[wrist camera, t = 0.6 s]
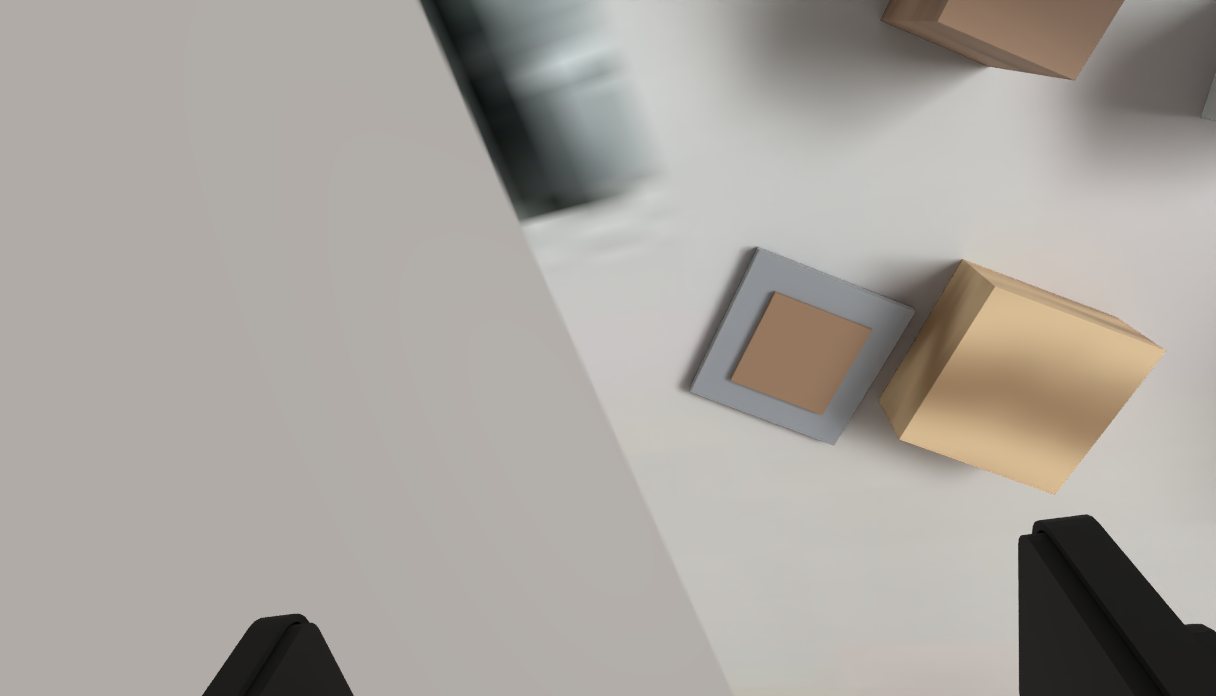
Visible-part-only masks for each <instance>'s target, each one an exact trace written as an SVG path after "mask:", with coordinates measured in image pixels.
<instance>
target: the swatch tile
mask: <svg viewBox="0 0 1216 696" xmlns="http://www.w3.org/2000/svg"><path fill="white" fill-rule="evenodd" d="M914 314H915V311H914V309H913V308H912V307H910V306H907V305H905V304H902V303H900V302H897V301H894V300H892V299H889V298H887V297H884V296H882V295H879V294H877V293H874V292H872V291H869V290H866V289H864V288H861V287H859V286H856V285H854V284H851V283H849V282H846V281H844V280H841V279H838V278H836V277H833V276H831V275H828V274H826V273H823V272H821V271H818V270H815V269H813V268H810V267H808V266H805V265H803V264H800V263H798V262H795V261H793V260H790V259H787V258H785V257H782V256H780V255H777V254H775V253H772V252H770V251H767V250H765V249H762V248H759V247H757V249H756V252H755V254H754V256H753V258H752V260H751V262H750V264H749V266H748V268H747V270H746V272H745V274H744V276H743V278H742V280H741V282H740V285H739V287H738V289H737V291H736V293H735V295H734V297H733V299H732V301H731V303H730V305H729V307H728V309H727V311H726V313H725V315H724V318H723V320H722V322H721V324H720V326H719V328H718V330H717V332H716V334H715V336H714V338H713V340H712V342H711V344H710V346H709V349H708V351H707V353H706V355H705V357H704V359H703V361H702V363H701V365H700V367H699V369H698V371H697V373H696V375H695V377H694V379H693V382H692V384H691V386H690V392H691V393H694V394H697V395H700V396H702V397H705V398H708V399H710V400H713V401H716V402H718V403H721V404H724V405H726V406H729V407H732V408H734V409H737V410H740V411H743V412H745V413H748V414H751V415H753V416H756V417H759V418H761V419H764V420H767V421H769V422H772V423H775V424H777V425H780V426H783V427H786V428H788V429H791V430H794V431H796V432H799V433H802V434H804V435H807V436H810V437H812V438H815V439H818V440H820V441H823V442H826V443H828V444H831V445H835V443H836V441H837V440H838V438H839V436H840V435H841V433H842V432H843V430H844V428H845V427H846V425H847V423H848V422H849V420H850V418H851V417H852V415H853V414H854V412H855V410H856V409H857V407H858V405H859V404H860V402H861V400H862V399H863V397H864V396H865V394H866V392H867V391H868V389H869V387H870V386H871V384H872V382H873V381H874V379H875V378H876V376H877V374H878V373H879V371H880V369H881V368H882V366H883V364H884V363H885V361H886V360H887V358H888V356H889V355H890V353H891V351H892V350H893V348H894V346H895V345H896V343H897V342H898V340H899V338H900V337H901V335H902V333H903V332H904V330H905V328H906V327H907V325H908V324H909V322H910V320H911V319H912V317H913V315H914Z"/></svg>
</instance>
